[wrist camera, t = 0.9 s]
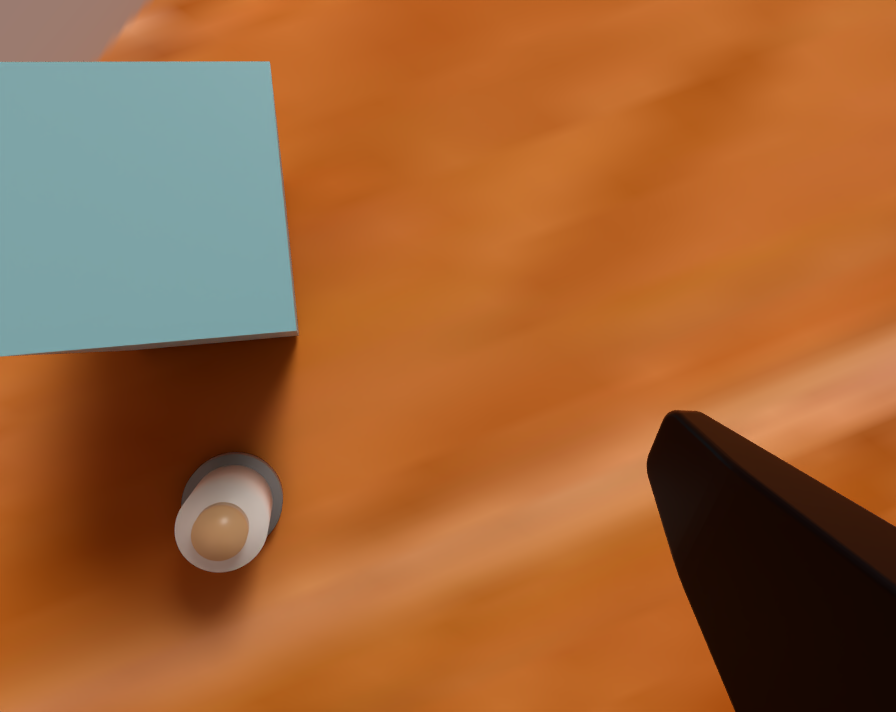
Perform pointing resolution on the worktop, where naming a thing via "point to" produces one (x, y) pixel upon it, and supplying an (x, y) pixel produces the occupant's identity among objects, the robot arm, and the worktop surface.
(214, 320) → the pale teal block
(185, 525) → the post
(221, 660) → the worktop surface
